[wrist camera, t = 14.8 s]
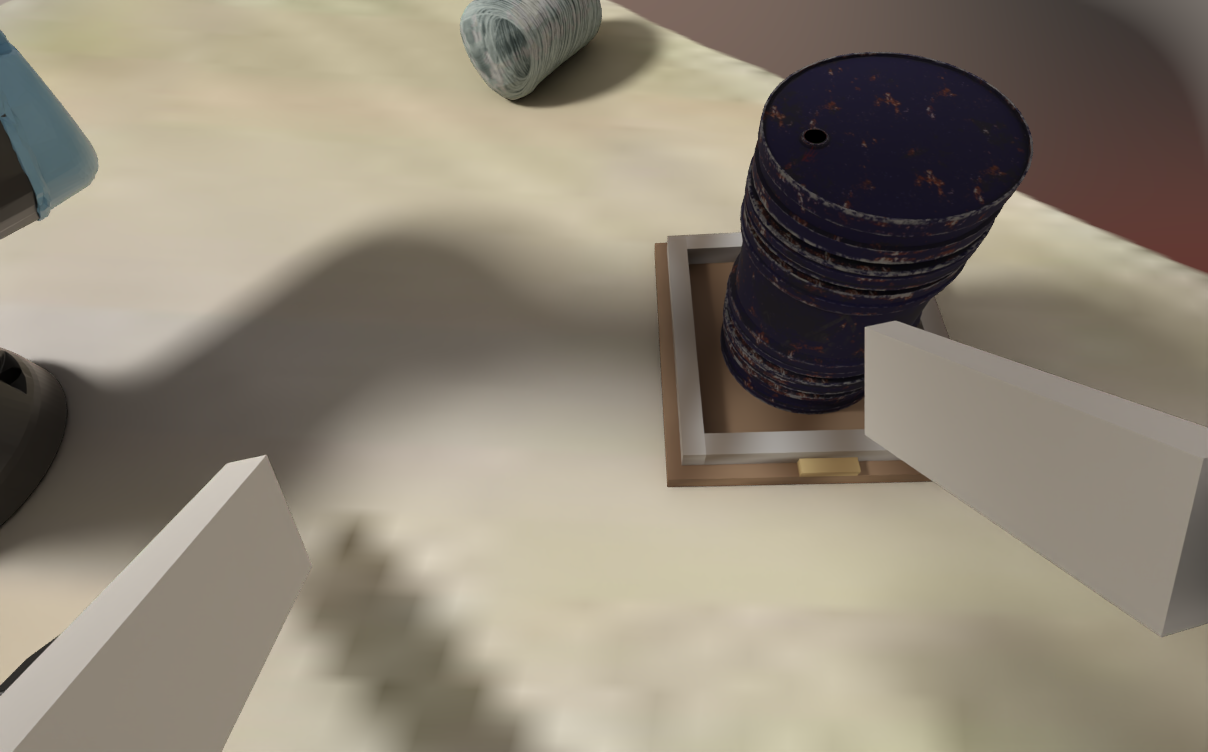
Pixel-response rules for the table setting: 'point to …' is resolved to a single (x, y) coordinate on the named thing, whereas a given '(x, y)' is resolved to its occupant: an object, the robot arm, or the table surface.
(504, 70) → the spool
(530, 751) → the table surface
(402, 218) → the table surface
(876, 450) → the cradle plate
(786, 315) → the rusty blue barrel
